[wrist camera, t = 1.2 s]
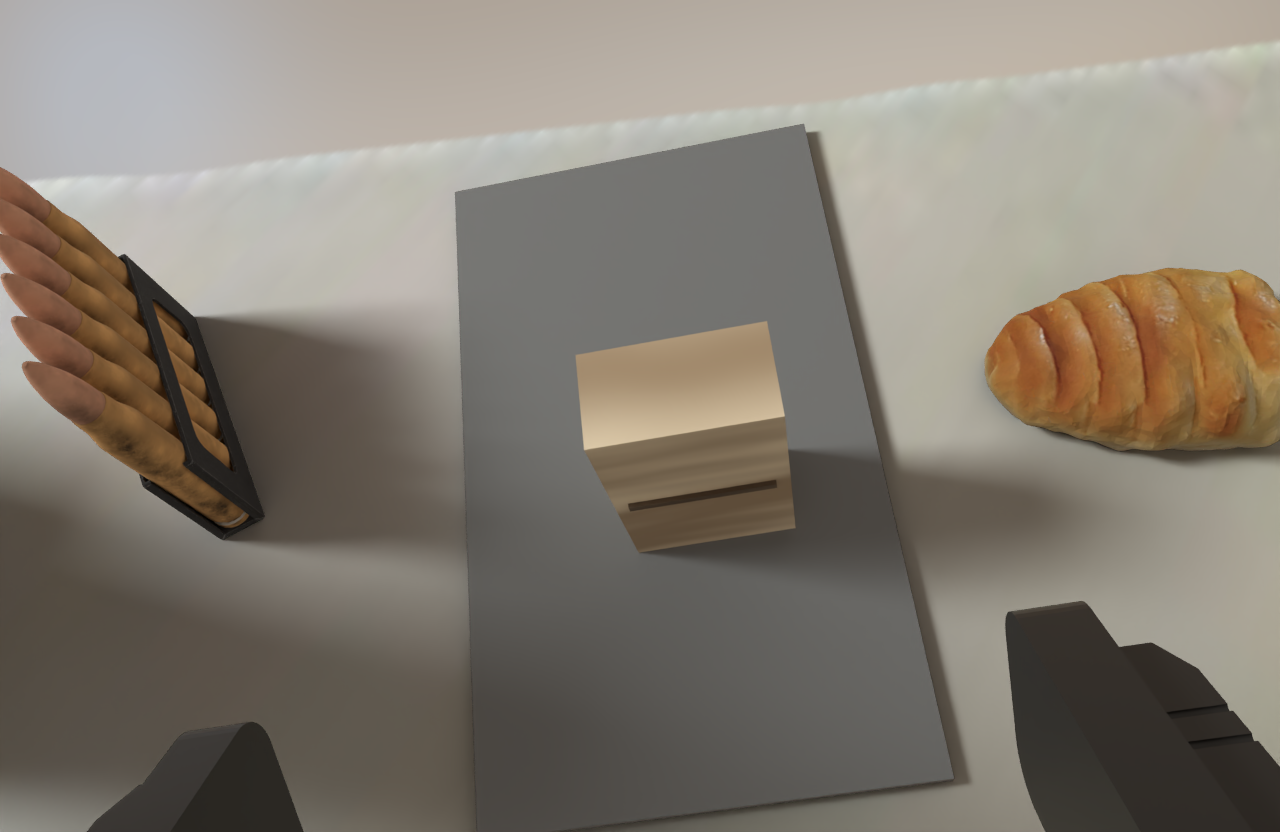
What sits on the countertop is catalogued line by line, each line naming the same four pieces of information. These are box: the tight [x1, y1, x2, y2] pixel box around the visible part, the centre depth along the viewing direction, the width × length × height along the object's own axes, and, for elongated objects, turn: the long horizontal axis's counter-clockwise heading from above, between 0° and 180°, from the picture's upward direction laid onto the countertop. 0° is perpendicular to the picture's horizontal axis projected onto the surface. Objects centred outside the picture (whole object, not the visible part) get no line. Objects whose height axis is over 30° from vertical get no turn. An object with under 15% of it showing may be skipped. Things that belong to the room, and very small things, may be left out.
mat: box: [455, 124, 954, 832], centre depth 39 cm, size 15×26×1 cm, turn 6°
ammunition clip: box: [0, 167, 265, 540], centre depth 37 cm, size 11×2×12 cm, turn 27°
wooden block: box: [576, 321, 796, 553], centre depth 33 cm, size 3×6×9 cm, turn 96°
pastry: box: [985, 268, 1280, 451], centre depth 36 cm, size 9×7×4 cm
